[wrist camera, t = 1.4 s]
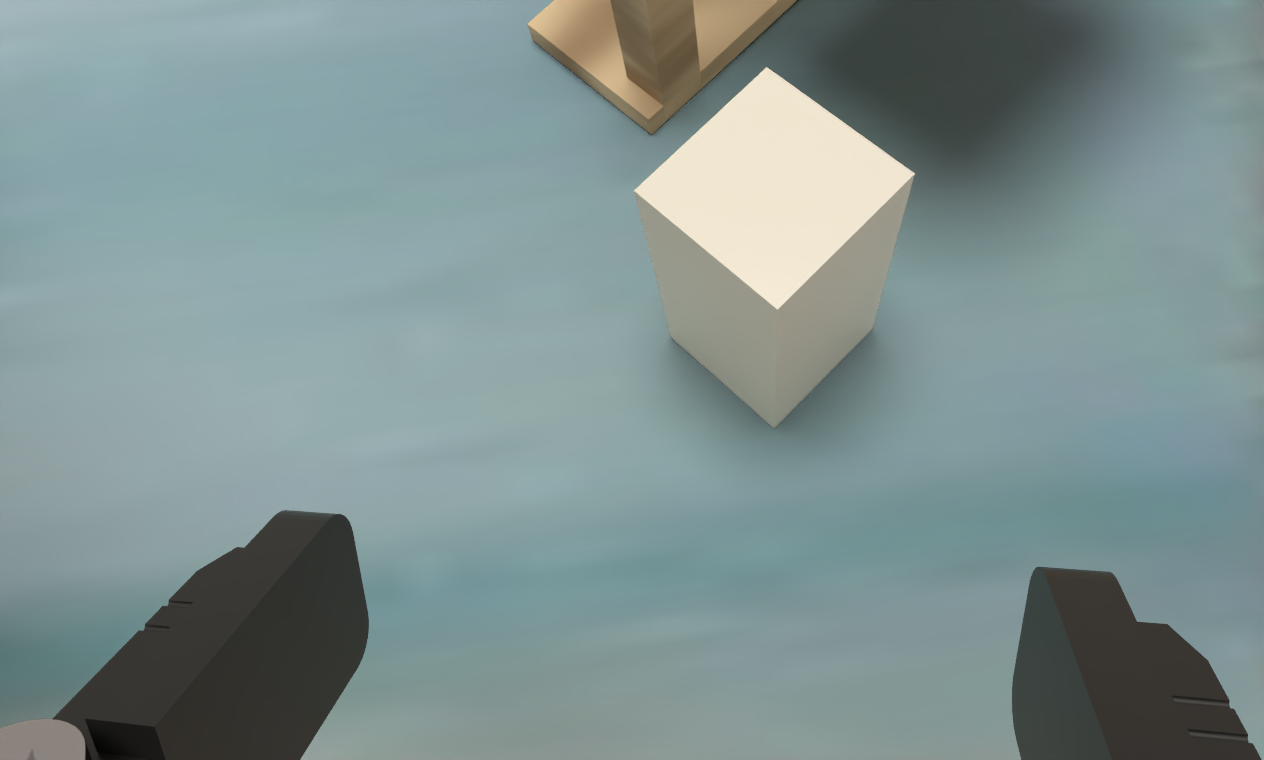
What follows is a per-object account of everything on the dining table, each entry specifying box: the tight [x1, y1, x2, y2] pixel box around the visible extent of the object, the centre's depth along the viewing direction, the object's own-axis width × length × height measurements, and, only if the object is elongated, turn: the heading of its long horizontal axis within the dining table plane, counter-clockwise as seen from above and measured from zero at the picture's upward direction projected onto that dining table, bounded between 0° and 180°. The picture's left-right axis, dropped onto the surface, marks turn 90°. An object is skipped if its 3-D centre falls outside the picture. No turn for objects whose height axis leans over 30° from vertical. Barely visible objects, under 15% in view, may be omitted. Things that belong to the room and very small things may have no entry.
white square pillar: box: [634, 67, 915, 428], centre depth 29 cm, size 5×5×10 cm
